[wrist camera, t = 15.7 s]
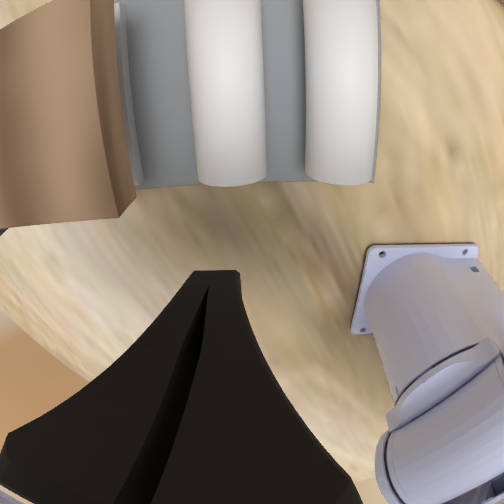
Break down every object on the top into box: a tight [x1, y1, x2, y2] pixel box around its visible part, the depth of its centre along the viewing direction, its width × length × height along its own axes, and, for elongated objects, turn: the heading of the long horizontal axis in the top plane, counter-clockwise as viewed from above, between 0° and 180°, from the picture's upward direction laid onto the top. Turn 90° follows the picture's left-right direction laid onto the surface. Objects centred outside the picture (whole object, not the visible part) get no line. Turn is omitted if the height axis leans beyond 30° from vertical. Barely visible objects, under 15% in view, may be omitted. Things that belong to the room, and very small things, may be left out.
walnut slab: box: [0, 0, 136, 229], centre depth 10 cm, size 9×9×2 cm
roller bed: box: [0, 0, 381, 236], centre depth 11 cm, size 22×11×7 cm, turn 92°
